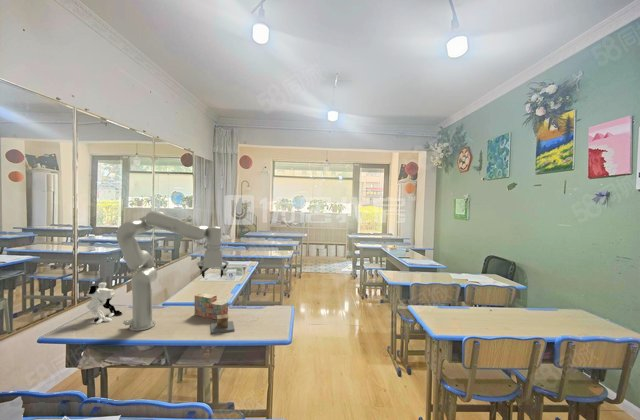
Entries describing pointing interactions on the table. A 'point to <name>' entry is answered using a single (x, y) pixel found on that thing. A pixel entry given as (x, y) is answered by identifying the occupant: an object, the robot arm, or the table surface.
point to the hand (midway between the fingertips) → (212, 276)
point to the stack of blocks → (209, 306)
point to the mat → (229, 329)
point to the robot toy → (102, 302)
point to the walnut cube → (222, 321)
